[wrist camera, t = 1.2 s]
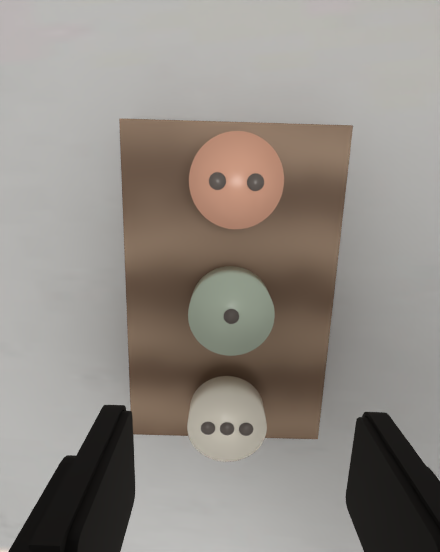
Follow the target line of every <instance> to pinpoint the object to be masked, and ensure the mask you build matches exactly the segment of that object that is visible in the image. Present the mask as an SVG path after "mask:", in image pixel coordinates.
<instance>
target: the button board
mask: <svg viewBox="0 0 440 552" xmlns="http://www.w3.org/2000/svg"><path fill="white" fill-rule="evenodd" d="M119 120H120V145H121V171H122V197H123V223H124V249H125V275H126V300H127V326H128V352H129V378H130V404H131V411H132V416H133V434H143V435H180V436H188V430H187V425H188V417H189V410H190V403H191V399H192V397H193V395H194V393H195V391H196V390H197V389H198V388H199V387H200V386H201V385H202V384H203V383H205V382H206V381H208V380H210V379H213V378H216V377H221V376H233V377H238V378H241V379H243V380H245V381H247V382H249V383H250V384H251V385H253V386H254V387H255V389H256V390H257V391H258V392H259V394H260V396H261V399H262V402H263V407H264V413H265V418H266V424H267V431H266V436H265V438H293V439H318V432H319V423H320V414H321V405H322V396H323V387H324V378H325V369H326V361H327V352H328V343H329V334H330V325H331V316H332V307H333V298H334V289H335V280H336V271H337V263H338V254H339V245H340V236H341V227H342V218H343V209H344V200H345V191H346V182H347V173H348V165H349V156H350V147H351V138H352V129H353V126H351V125H318V124H284V123H250V122H216V121H183V120H149V119H119ZM229 131H245V132H249V133H253V134H255V135H257V136H259V137H261V138H263V139H264V140H265V141H267V142H268V143H269V144H270V145H271V146H272V147H273V149H274V150H275V151H276V153H277V155H278V156H279V158H280V161H281V163H282V167H283V172H284V187H283V192H282V196H281V198H280V201H279V203H278V205H277V206H276V208H275V209H274V211H273V212H272V213H271V214H270V215H269V216H268V217H267V218H266V219H265V220H263V221H262V222H260V223H259V224H257V225H254V226H252V227H249V228H245V229H227V228H223V227H220V226H217V225H215V224H214V223H212V222H210V221H209V220H208V219H206V218H205V217H204V216H203V215H202V214H201V213H200V211H199V210H198V209H197V207H196V206H195V204H194V202H193V199H192V196H191V193H190V188H189V173H190V168H191V165H192V162H193V160H194V158H195V155H196V154H197V152H198V151H199V150H200V148H201V147H202V146H203V145H204V144H205V143H206V142H207V141H209V140H210V139H212V138H213V137H215V136H217V135H219V134H222V133H225V132H229ZM226 266H234V267H240V268H244V269H247V270H249V271H251V272H252V273H254V274H255V275H257V276H258V277H259V278H260V279H261V280H262V282H263V283H264V285H265V286H266V288H267V290H268V293H269V295H270V297H271V299H272V302H273V305H274V311H275V318H274V324H273V327H272V330H271V332H270V334H269V336H268V337H267V338H266V340H265V341H264V342H263V343H262V344H261V345H260V346H258V347H257V348H256V349H254V350H252V351H250V352H248V353H245V354H241V355H236V356H227V355H221V354H217V353H214V352H212V351H210V350H208V349H207V348H205V347H204V346H203V345H201V344H200V343H199V342H198V340H197V339H196V338H195V336H194V335H193V333H192V331H191V329H190V326H189V321H188V309H189V305H190V301H191V297H192V294H193V291H194V289H195V287H196V285H197V283H198V282H199V281H200V280H201V279H202V278H203V277H204V276H205V275H206V274H207V273H209V272H211V271H213V270H215V269H217V268H221V267H226Z"/></svg>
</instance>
